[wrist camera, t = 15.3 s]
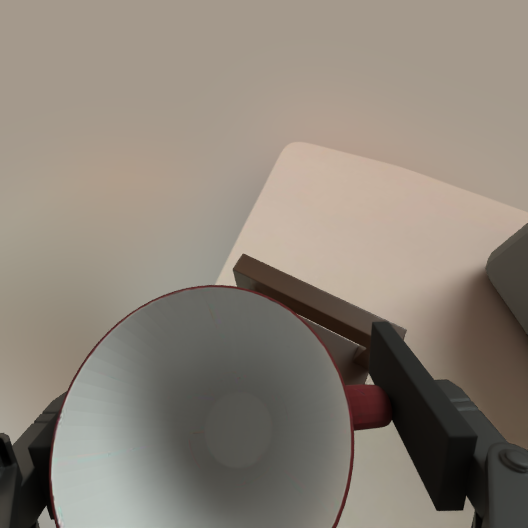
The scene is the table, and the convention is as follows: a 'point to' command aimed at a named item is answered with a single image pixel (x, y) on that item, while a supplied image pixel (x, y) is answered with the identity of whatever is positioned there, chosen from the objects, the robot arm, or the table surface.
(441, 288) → the table surface
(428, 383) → the robot arm
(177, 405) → the mug
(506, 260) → the alarm clock
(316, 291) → the chair
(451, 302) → the table surface
